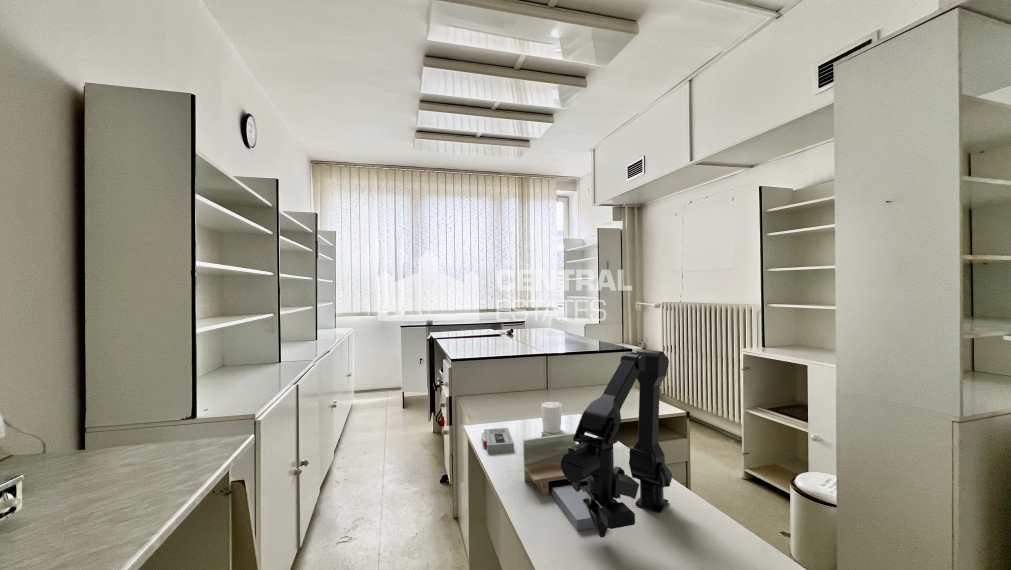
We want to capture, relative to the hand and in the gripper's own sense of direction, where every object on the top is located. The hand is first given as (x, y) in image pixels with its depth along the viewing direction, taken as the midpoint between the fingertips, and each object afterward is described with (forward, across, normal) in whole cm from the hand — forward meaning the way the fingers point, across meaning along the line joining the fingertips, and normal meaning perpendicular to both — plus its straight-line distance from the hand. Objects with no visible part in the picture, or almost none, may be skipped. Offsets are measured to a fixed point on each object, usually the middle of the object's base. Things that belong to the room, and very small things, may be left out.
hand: (601, 536), depth 94 cm
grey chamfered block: (+1, +14, 0) cm, 14 cm away
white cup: (+2, +69, -14) cm, 71 cm away
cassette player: (0, +62, +4) cm, 62 cm away
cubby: (+1, +27, 0) cm, 27 cm away
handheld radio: (+2, +45, -8) cm, 45 cm away
